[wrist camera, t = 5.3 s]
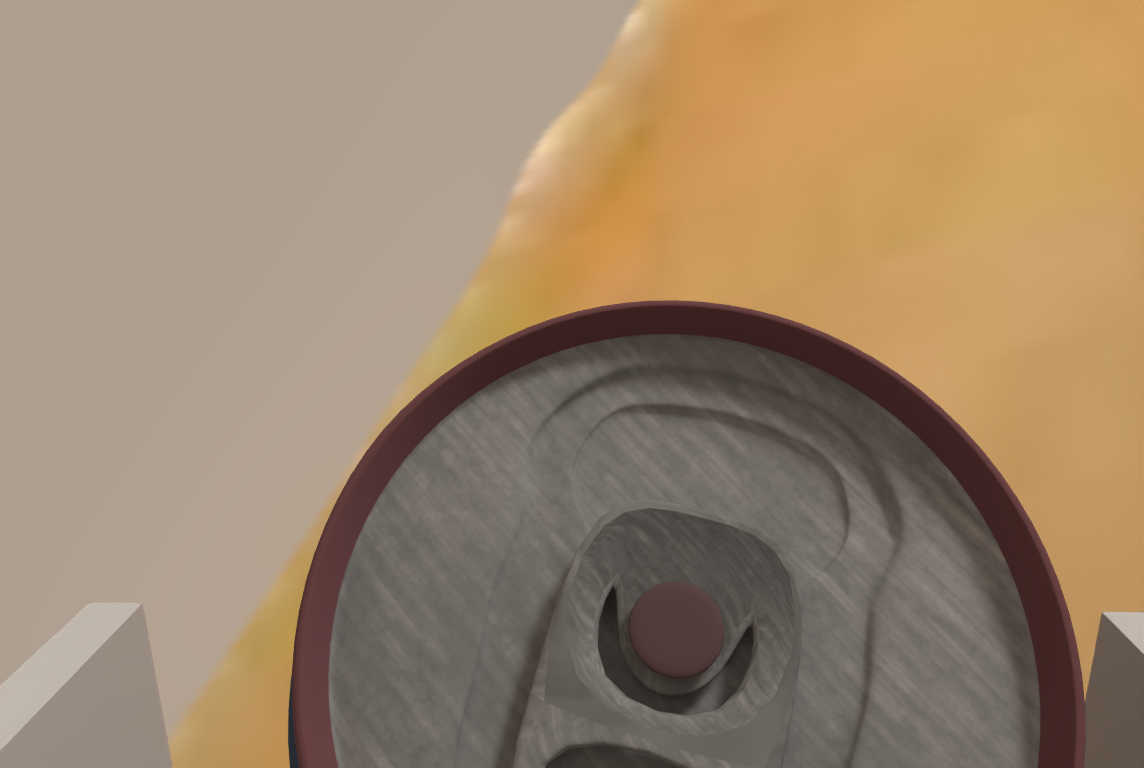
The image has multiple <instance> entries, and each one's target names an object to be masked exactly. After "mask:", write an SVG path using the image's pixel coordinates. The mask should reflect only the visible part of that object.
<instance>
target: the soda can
mask: <svg viewBox="0 0 1144 768" xmlns="http://www.w3.org/2000/svg"><path fill="white" fill-rule="evenodd" d="M288 745H289V760H290V768H1084V761H1085V745H1086V729H1085V701H1084V691H1083V680H1082V672H1081V666H1080V660H1079V655H1078V649H1077V643H1076V639H1075V635H1074V631H1073V627H1072V623H1071V619H1070V615H1069V611H1068V608H1067V605H1066V602H1065V599H1064V596H1063V593H1062V590H1061V587H1060V584H1059V581H1058V578H1057V576H1056V573H1055V571H1054V569H1053V566H1052V564H1051V561H1050V559H1049V557H1048V554H1047V552H1046V550H1045V548H1044V546H1043V544H1042V542H1041V540H1040V538H1039V536H1038V534H1037V532H1036V530H1035V528H1034V526H1033V524H1032V522H1031V520H1030V518H1029V517H1028V515H1027V513H1026V512H1025V510H1024V508H1023V507H1022V505H1021V503H1020V502H1019V500H1018V498H1017V497H1016V495H1015V494H1014V492H1013V491H1012V489H1011V488H1010V486H1009V485H1008V483H1007V482H1006V481H1005V479H1004V478H1003V476H1002V475H1001V473H1000V472H999V471H998V469H997V468H996V467H995V466H994V464H993V463H992V462H991V461H990V459H989V458H988V457H987V456H986V454H985V453H984V452H983V451H982V449H981V448H980V447H979V446H978V445H977V444H976V443H975V442H974V440H973V439H972V438H971V437H970V436H969V435H968V434H967V433H966V432H965V431H964V429H963V428H962V427H961V426H960V425H959V424H958V423H957V422H956V421H954V420H953V419H952V418H951V417H950V416H949V415H948V414H947V413H946V412H945V411H944V410H943V409H942V408H941V407H940V406H939V405H937V404H936V403H935V402H934V401H933V400H931V399H930V398H929V397H928V396H927V395H926V394H924V393H923V392H922V391H921V390H920V389H918V388H917V387H916V386H914V385H913V384H912V383H910V382H909V381H907V380H906V379H905V378H903V377H902V376H901V375H899V374H898V373H896V372H895V371H893V370H892V369H890V368H889V367H887V366H886V365H884V364H882V363H881V362H879V361H878V360H876V359H875V358H873V357H871V356H869V355H868V354H866V353H864V352H862V351H860V350H859V349H857V348H855V347H853V346H851V345H849V344H847V343H845V342H843V341H841V340H839V339H837V338H835V337H832V336H830V335H828V334H826V333H824V332H821V331H818V330H816V329H813V328H811V327H808V326H806V325H803V324H801V323H797V322H794V321H791V320H788V319H785V318H782V317H779V316H775V315H772V314H768V313H764V312H760V311H756V310H752V309H746V308H741V307H736V306H730V305H724V304H715V303H707V302H695V301H642V302H630V303H621V304H614V305H608V306H601V307H596V308H592V309H587V310H582V311H578V312H574V313H570V314H567V315H563V316H560V317H556V318H553V319H550V320H547V321H545V322H542V323H539V324H536V325H534V326H531V327H528V328H526V329H524V330H521V331H519V332H517V333H514V334H512V335H510V336H508V337H505V338H504V339H502V340H500V341H498V342H496V343H494V344H492V345H490V346H488V347H486V348H484V349H482V350H481V351H479V352H478V353H476V354H474V355H473V356H471V357H469V358H468V359H466V360H464V361H463V362H461V363H460V364H458V365H457V366H455V367H454V368H452V369H451V370H450V371H448V372H447V373H445V374H444V375H442V376H441V377H440V378H438V379H437V380H436V381H435V382H433V383H432V384H431V385H430V386H428V387H427V388H426V389H425V390H423V391H422V392H421V393H420V394H419V395H417V396H416V397H415V398H414V399H413V400H412V401H411V402H410V403H409V404H408V405H407V406H406V407H404V408H403V409H402V410H401V411H400V412H399V413H398V414H397V416H396V417H395V418H394V419H393V420H392V421H391V422H390V423H389V424H388V425H387V426H386V427H385V429H384V430H383V431H382V432H381V433H380V435H379V436H378V437H377V438H376V440H375V441H374V442H373V444H372V445H371V446H370V448H369V449H368V450H367V451H366V453H365V454H364V456H363V457H362V459H361V460H360V462H359V463H358V465H357V467H356V468H355V470H354V471H353V473H352V474H351V476H350V478H349V479H348V481H347V483H346V485H345V487H344V488H343V490H342V492H341V494H340V496H339V497H338V499H337V501H336V504H335V506H334V508H333V510H332V512H331V514H330V516H329V519H328V521H327V523H326V525H325V528H324V530H323V533H322V535H321V538H320V540H319V543H318V546H317V548H316V551H315V554H314V557H313V560H312V563H311V567H310V570H309V573H308V576H307V580H306V584H305V588H304V592H303V596H302V601H301V605H300V609H299V616H298V622H297V628H296V635H295V642H294V654H293V667H292V677H291V687H290V699H289V720H288Z"/></svg>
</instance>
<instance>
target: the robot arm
mask: <svg viewBox="0 0 1144 768" xmlns="http://www.w3.org/2000/svg"><path fill="white" fill-rule="evenodd" d="M1085 729H1086V745H1085V761H1084V768H1144V612H1102V615H1101V620H1100V625H1099V631H1098V636H1097V641H1096V647H1095V652H1094V657H1093V663H1092V668H1091V673H1090V679H1089V684H1088V690H1087V695H1086V700H1085ZM171 766H172V761H171V756H170V751H169V745H168V740H167V734H166V729H165V723H164V718H163V712H162V707H161V702H160V696H159V691H158V685H157V681H156V674H155V669H154V663H153V658H152V653H151V647H150V642H149V637H148V631H147V625H146V620H145V615H144V609H143V604H142V603H89V604H88V605H86V606H85V607H84V608H83V609H82V610H81V611H80V612H79V613H78V614H77V615H76V616H75V617H73V618H72V619H71V620H70V621H69V622H68V623H67V624H66V625H65V626H64V627H63V628H62V629H61V630H60V631H58V632H57V633H56V634H55V635H54V636H53V637H52V638H51V639H50V640H49V641H48V642H47V643H46V644H44V645H43V646H42V647H41V648H40V649H39V650H38V651H37V652H36V653H35V654H34V655H33V656H32V657H31V658H29V659H28V660H27V661H26V662H25V663H24V664H23V665H22V666H21V667H20V668H19V669H18V670H17V671H15V672H14V673H13V674H12V675H11V676H10V677H9V678H8V679H7V680H6V681H5V682H4V683H3V684H1V685H0V768H171Z"/></svg>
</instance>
